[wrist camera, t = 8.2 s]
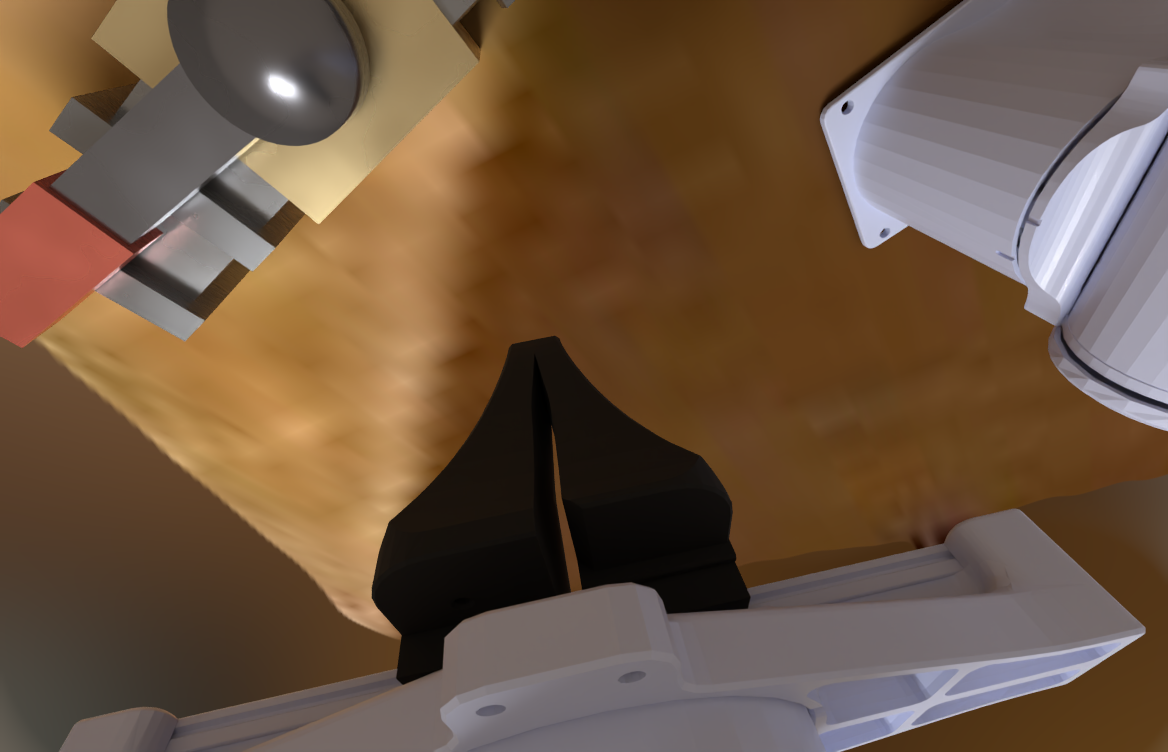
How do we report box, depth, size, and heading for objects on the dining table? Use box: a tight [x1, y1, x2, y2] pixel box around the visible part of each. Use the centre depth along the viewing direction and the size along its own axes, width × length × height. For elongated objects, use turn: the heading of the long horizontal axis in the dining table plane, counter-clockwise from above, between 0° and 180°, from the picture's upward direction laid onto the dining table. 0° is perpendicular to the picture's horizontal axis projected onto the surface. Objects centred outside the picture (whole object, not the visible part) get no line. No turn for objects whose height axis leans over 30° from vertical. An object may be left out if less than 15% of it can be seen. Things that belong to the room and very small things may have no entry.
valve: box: [0, 0, 515, 341], centre depth 14 cm, size 20×6×5 cm, turn 127°
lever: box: [0, 0, 370, 348], centre depth 12 cm, size 13×4×2 cm, turn 121°
